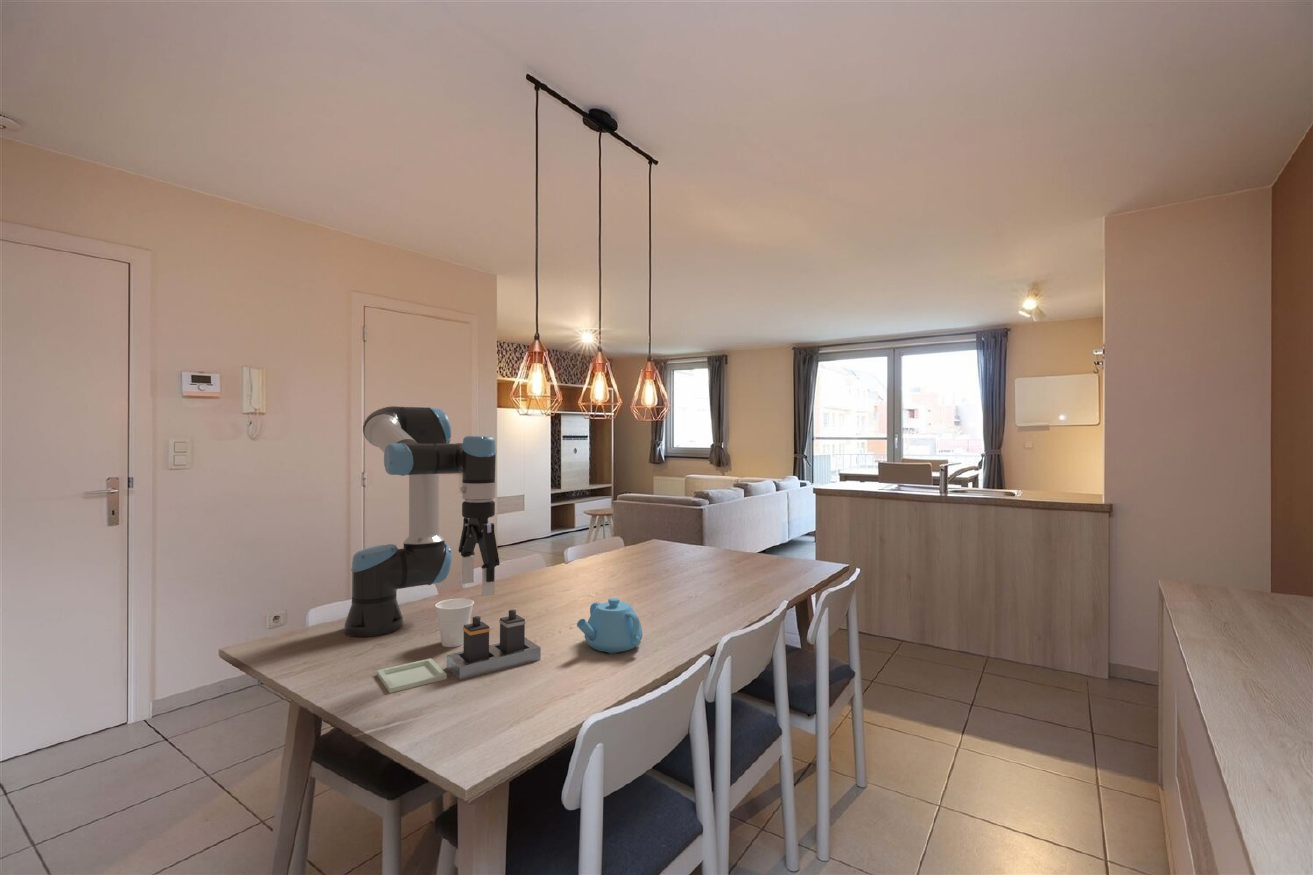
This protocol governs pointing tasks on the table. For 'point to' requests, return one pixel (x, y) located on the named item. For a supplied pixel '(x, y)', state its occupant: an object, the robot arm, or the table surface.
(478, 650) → the plug
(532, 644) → the strip
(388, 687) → the tray
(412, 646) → the table surface
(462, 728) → the table surface
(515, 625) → the twin plug
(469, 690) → the table surface
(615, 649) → the teapot
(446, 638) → the cup
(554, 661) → the table surface
